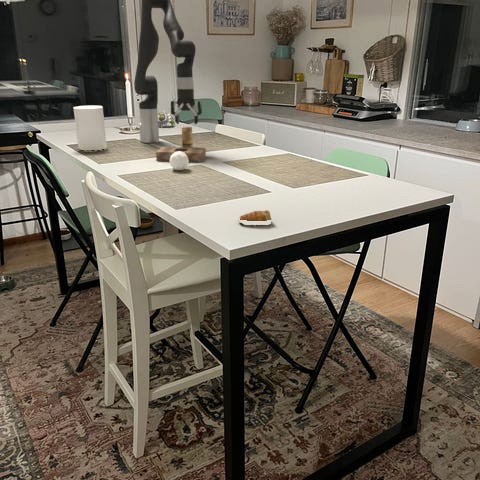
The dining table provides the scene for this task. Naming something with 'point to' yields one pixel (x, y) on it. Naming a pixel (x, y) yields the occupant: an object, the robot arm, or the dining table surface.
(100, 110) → the canister
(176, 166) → the ball
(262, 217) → the pastry
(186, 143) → the peg
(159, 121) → the passion flower
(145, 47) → the robot arm
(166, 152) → the board
